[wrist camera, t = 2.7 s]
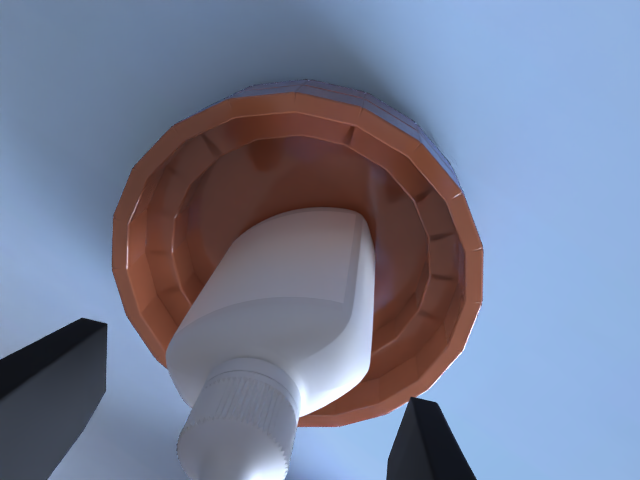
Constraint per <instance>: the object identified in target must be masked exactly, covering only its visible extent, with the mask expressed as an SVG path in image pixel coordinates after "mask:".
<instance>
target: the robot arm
mask: <svg viewBox="0 0 640 480" xmlns="http://www.w3.org/2000/svg"><path fill="white" fill-rule="evenodd" d="M106 358H107V324H106V323H102V322H98V321H93V320H89V319H85V318H81V319H79V320H77V321H75V322H72V323H70V324H68V325H67V326H65V327H63V328H61V329H59V330H57V331H55V332H53V333H51V334H49V335H47V336H45V337H44V338H42V339H40V340H38V341H36V342H34V343H32V344H30V345H28V346H26V347H24V348H22V349H20V350H18V351H16V352H14V353H12V354H10V355H8V356H6V357H4V358H2V359H0V480H47V479H48V478H49V476H50V475H51V474H52V472H53V471H54V470H55V468H56V467H57V466H58V464H59V463H60V462H61V460H62V459H63V458H64V456H65V455H66V453H67V452H68V451H69V449H70V448H71V447H72V445H73V444H74V443H75V441H76V440H77V438H78V437H79V436H80V434H81V433H82V432H83V430H84V428H85V427H86V425H87V423H88V422H89V420H90V418H91V417H92V415H93V413H94V411H95V410H96V408H97V406H98V404H99V402H100V400H101V399H102V397H103V395H104V393H105V391H106ZM386 480H477V479H476V477H475V475H474V474H473V472H472V470H471V468H470V466H469V465H468V463H467V461H466V459H465V457H464V455H463V453H462V451H461V449H460V447H459V445H458V443H457V441H456V439H455V437H454V435H453V433H452V431H451V429H450V427H449V425H448V423H447V421H446V419H445V417H444V415H443V413H442V411H441V409H440V407H439V405H438V404H437V403H436V402H432V401H428V400H424V399H419V398H415V397H410V400H409V403H408V405H407V408H406V411H405V414H404V416H403V419H402V422H401V425H400V427H399V430H398V433H397V436H396V438H395V441H394V444H393V447H392V449H391V452H390V455H389V458H388V465H387V479H386Z"/></svg>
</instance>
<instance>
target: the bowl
mask: <svg viewBox="0 0 640 480" xmlns="http://www.w3.org/2000/svg"><path fill="white" fill-rule="evenodd" d="M312 207H333V208H343V209H349V210H353V211H356V212H358V213H360V214H361V215H362V216H363V217H364V219H365V220H366V222H367V224H368V227H369V230H370V234H371V237H372V241H373V245H374V249H375V254H376V257H375V285H374V308H373V331H372V345H371V358H370V366H369V370H368V372H367V373H366V375H365V376H364V378H363V379H362V380H361V381H360V382H359V383H358V384H357V385H356V386H355V387H353V388H352V389H351V390H350V391H348V392H347V393H345V394H344V395H342V396H341V397H339V398H338V399H336V400H334V401H333V402H331V403H329V404H327V405H326V406H324V407H322V408H320V409H318V410H316V411H314V412H311V413H309V414H307V415H304V416H302V417H299V421H298V425H297V427H338V426H339V427H340V426H344V425H348V424H352V423H356V422H360V421H363V420H367V419H371V418H375V417H379V416H383V415H386V414H388V413H390V412H392V411H394V410H395V409H397V408H399V407H400V406H402V405H404V404H405V403H407V402H409V400H410V397H415V398H416V397H417V396H419V395H421V394H422V393H424V392H426V391H427V390H429V389H430V388H431V387H432V386H433V385H434V384H435V382H436V381H437V380H438V379H439V378H440V377H441V376H442V374H443V373H444V372H445V371H446V370H447V369H448V368H449V367H450V365H451V364H452V363H453V362H454V361H455V360H456V359H457V358H458V356H459V355H460V354H461V353H462V351H463V350H464V348H465V346H466V343H467V341H468V338H469V336H470V333H471V331H472V328H473V326H474V323H475V321H476V318H477V316H478V313H479V311H480V308H481V306H482V301H483V245H482V242H481V240H480V237H479V234H478V231H477V229H476V226H475V223H474V220H473V218H472V215H471V212H470V209H469V207H468V204H467V201H466V198H465V196H464V193H463V191H462V188H461V186H460V184H459V181H458V179H457V177H456V174H455V172H454V170H453V168H452V167H451V164H450V163H449V161H448V160H447V159H446V158H445V157H444V155H443V154H442V153H441V152H440V151H439V149H438V148H437V147H436V146H435V145H434V143H433V142H432V141H431V140H430V139H429V137H428V136H427V135H426V134H425V133H424V131H423V130H422V129H421V128H420V126H419V125H418V124H415V122H414V121H413V120H412V119H410V118H408V117H407V116H405V115H403V114H402V113H400V112H398V111H397V110H395V109H394V108H392V107H390V106H389V105H387V104H385V103H384V102H382V101H380V100H379V99H377V98H375V97H374V96H372V95H371V94H369V93H365V92H364V91H360V90H355V89H351V88H347V87H342V86H338V85H333V84H329V83H324V82H320V81H316V80H308V79H303V80H294V81H285V82H275V83H266V84H257V85H253V86H249V87H247V88H245V89H243V90H241V91H238V92H236V93H234V94H232V95H230V96H228V97H226V98H224V99H222V100H220V101H218V102H216V103H214V104H211V105H209V106H207V107H205V108H203V109H202V110H200V111H198V112H196V113H194V114H192V115H191V116H189V117H187V118H185V119H183V120H181V121H180V122H178V123H176V124H174V125H173V126H171V127H170V128H169V129H168V131H167V132H166V133H165V134H164V135H163V136H162V137H161V138H160V139H159V140H158V141H157V142H156V143H155V144H154V145H153V146H152V147H151V148H150V149H149V151H148V152H147V153H146V154H145V155H144V156H143V157H142V158H141V159H140V160H139V161H138V162H137V163H136V164H135V165H134V167H133V168H132V170H131V173H130V175H129V178H128V180H127V183H126V185H125V188H124V190H123V193H122V195H121V198H120V200H119V202H118V205H117V207H116V210H115V212H114V215H113V235H112V272H113V275H114V278H115V281H116V284H117V288H118V291H119V294H120V297H121V301H122V304H123V307H124V310H125V313H126V316H128V319H129V321H130V322H131V324H132V325H133V327H134V328H135V330H136V331H137V333H138V334H139V336H140V337H141V338H142V340H143V341H144V343H145V344H146V346H147V347H148V349H149V350H150V352H151V353H152V355H153V356H154V357H155V358H156V360H157V361H158V362H159V363H161V364H162V365H163V366H164V367H165V368H166V369H167V365H166V351H167V348H168V346H169V343H170V341H171V340H172V338H173V336H174V334H175V333H176V331H177V329H178V328H179V326H180V324H181V323H182V321H183V319H184V318H185V316H186V314H187V313H188V311H189V310H190V308H191V306H192V305H193V303H194V302H195V300H196V299H197V297H198V296H199V294H200V292H201V291H202V289H203V288H204V286H205V285H206V283H207V281H208V280H209V278H210V277H211V275H212V274H213V272H214V271H215V269H216V268H217V266H218V265H219V263H220V262H221V260H222V258H223V257H224V255H225V254H226V252H227V251H228V249H229V248H230V246H231V245H232V243H233V242H234V241H235V240H236V239H237V238H238V237H239V236H240V235H241V234H243V233H244V232H246V231H247V230H248V229H250V228H251V227H253V226H255V225H256V224H258V223H260V222H262V221H264V220H266V219H268V218H270V217H273V216H275V215H278V214H281V213H284V212H288V211H292V210H296V209H303V208H312Z"/></svg>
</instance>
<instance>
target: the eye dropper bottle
mask: <svg viewBox="0 0 640 480" xmlns="http://www.w3.org/2000/svg"><path fill="white" fill-rule="evenodd" d="M375 257H376V254H375V249H374V245H373V241H372V237H371V234H370V230H369V227H368V224H367V222H366V220H365V219H364V217H363V216H362V215H361V214H360V213H358V212H356V211H353V210H349V209H343V208H333V207H312V208H303V209H296V210H292V211H288V212H284V213H281V214H278V215H275V216H273V217H270V218H268V219H266V220H264V221H262V222H260V223H258V224H256V225H255V226H253V227H251V228H250V229H248V230H247V231H246V232H244V233H243V234H241V235H240V236H239V237H238V238H237V239H236V240H235V241H234V242H233V243H232V245H231V246H230V248H229V249H228V251H227V252H226V254H225V255H224V257H223V258H222V260H221V262H220V263H219V265H218V266H217V268H216V269H215V271H214V272H213V274H212V275H211V277H210V278H209V280H208V281H207V283H206V285H205V286H204V288H203V289H202V291H201V292H200V294H199V296H198V297H197V299H196V300H195V302H194V303H193V305H192V306H191V308H190V310H189V311H188V313H187V314H186V316H185V318H184V319H183V321H182V323H181V324H180V326H179V328H178V329H177V331H176V333H175V334H174V336H173V338H172V340H171V341H170V343H169V346H168V348H167V351H166V365H167V369H168V371H169V374H170V377H171V379H172V381H173V383H174V385H175V387H176V389H177V391H178V393H179V394H180V396H181V397H182V399H183V401H184V402H185V403H186V404H187V405H188V406H189V407H191V408H192V410H191V412H190V415H189V417H188V419H187V421H186V423H185V425H184V427H183V429H182V431H181V433H180V435H179V438H178V443H177V455H178V459H179V462H180V464H181V466H182V468H183V470H184V471H185V473H186V474H187V476H188V477H189V478H190V479H191V480H284V479H285V477H286V475H287V473H288V468H289V463H290V459H291V454H292V449H293V444H294V440H295V435H296V430H297V425H298V421H299V417H302V416H304V415H307V414H309V413H311V412H314V411H316V410H318V409H320V408H322V407H324V406H326V405H327V404H329V403H331V402H333V401H334V400H336V399H338V398H339V397H341V396H342V395H344V394H345V393H347V392H348V391H350V390H351V389H352V388H353V387H355V386H356V385H357V384H358V383H359V382H360V381H361V380H362V379H363V378H364V376H365V375H366V373H367V372H368V370H369V366H370V358H371V345H372V331H373V308H374V285H375Z"/></svg>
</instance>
